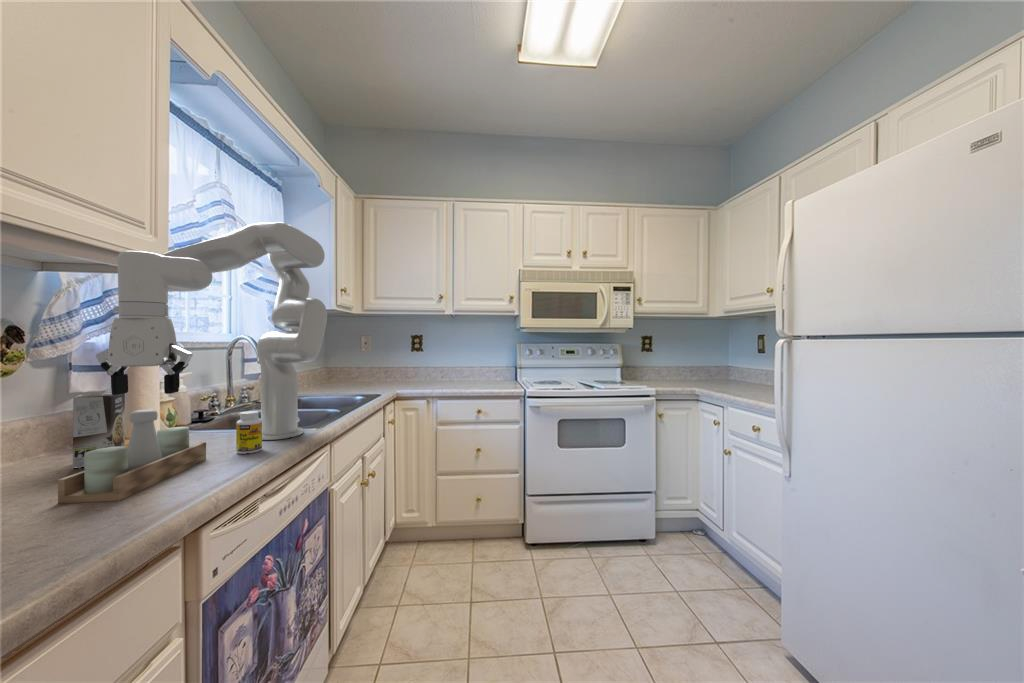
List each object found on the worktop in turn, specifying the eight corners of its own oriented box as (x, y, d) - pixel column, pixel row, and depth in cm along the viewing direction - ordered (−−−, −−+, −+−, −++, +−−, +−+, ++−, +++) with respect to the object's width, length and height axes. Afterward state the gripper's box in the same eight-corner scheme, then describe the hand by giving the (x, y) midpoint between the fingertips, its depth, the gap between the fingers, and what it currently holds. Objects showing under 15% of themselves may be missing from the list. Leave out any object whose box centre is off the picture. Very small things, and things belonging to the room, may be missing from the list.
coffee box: (111, 465, 88) (111, 395, 88) (71, 470, 85) (71, 397, 85) (126, 455, 96) (126, 390, 96) (90, 458, 93) (90, 392, 93)
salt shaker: (145, 467, 84) (145, 407, 84) (170, 467, 83) (170, 407, 83) (115, 476, 78) (116, 412, 78) (142, 477, 77) (142, 413, 77)
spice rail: (161, 461, 92) (161, 426, 92) (206, 459, 93) (206, 425, 93) (58, 503, 68) (58, 457, 68) (119, 500, 69) (119, 455, 69)
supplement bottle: (235, 455, 96) (235, 415, 96) (237, 450, 101) (237, 411, 101) (261, 452, 99) (262, 412, 99) (262, 447, 104) (262, 409, 104)
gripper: (79, 310, 76) (81, 397, 76) (177, 311, 78) (178, 395, 78) (113, 312, 83) (115, 391, 83) (201, 313, 85) (203, 389, 86)
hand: (146, 393), depth 81 cm, fingers open, 9 cm apart
